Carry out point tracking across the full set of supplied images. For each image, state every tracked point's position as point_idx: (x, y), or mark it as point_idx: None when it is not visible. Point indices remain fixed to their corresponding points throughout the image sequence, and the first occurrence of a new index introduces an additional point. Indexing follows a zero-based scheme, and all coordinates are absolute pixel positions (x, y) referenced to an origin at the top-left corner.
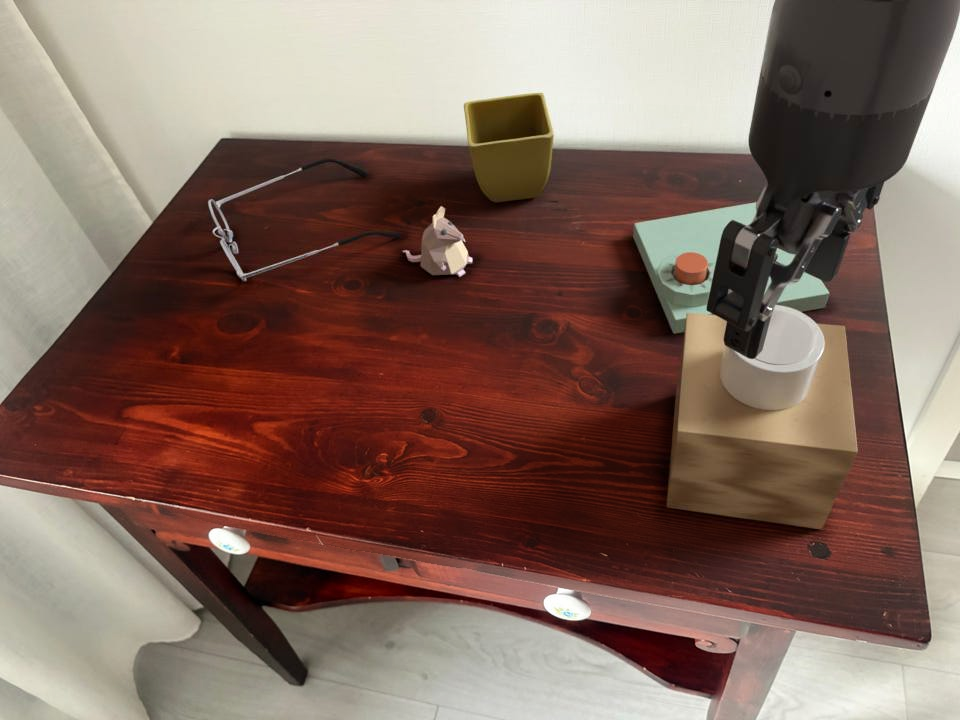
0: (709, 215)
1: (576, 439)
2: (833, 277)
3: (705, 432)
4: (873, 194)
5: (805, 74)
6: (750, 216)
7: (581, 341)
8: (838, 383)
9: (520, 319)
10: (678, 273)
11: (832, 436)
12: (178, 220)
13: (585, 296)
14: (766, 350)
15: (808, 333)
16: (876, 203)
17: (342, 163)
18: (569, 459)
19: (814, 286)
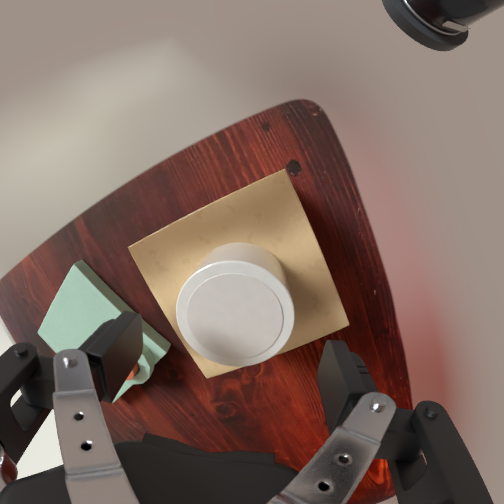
0: None
1: (301, 354)
2: (133, 313)
3: (340, 305)
4: (20, 370)
5: None
6: (54, 339)
7: (220, 390)
8: (205, 221)
9: (228, 423)
10: (135, 373)
11: (280, 198)
12: None
13: (182, 402)
14: (263, 319)
15: (205, 288)
16: (23, 346)
17: None
18: (319, 348)
19: (74, 276)
